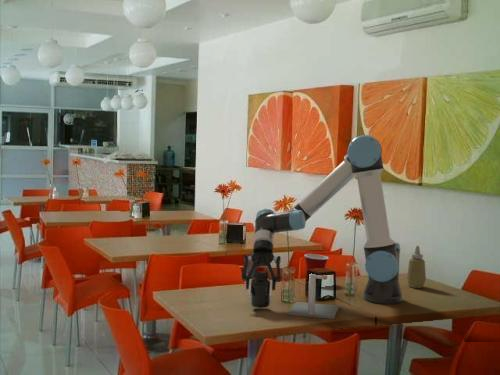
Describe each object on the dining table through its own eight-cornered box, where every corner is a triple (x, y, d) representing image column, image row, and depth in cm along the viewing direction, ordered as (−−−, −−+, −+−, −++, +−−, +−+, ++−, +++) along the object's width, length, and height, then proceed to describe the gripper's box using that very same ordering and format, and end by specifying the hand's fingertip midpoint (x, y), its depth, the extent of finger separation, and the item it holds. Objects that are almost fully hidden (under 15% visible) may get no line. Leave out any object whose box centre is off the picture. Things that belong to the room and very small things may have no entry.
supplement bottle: (266, 302, 221) (267, 270, 220) (272, 307, 214) (272, 274, 214) (248, 303, 219) (249, 271, 218) (253, 308, 212) (254, 274, 212)
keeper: (338, 307, 222) (340, 268, 221) (333, 319, 206) (335, 276, 205) (296, 303, 226) (297, 265, 225) (288, 314, 210) (289, 273, 209)
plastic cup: (329, 285, 260) (330, 257, 260) (304, 284, 260) (305, 257, 260) (326, 280, 271) (327, 253, 270) (302, 279, 271) (303, 252, 271)
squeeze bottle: (405, 288, 259) (407, 246, 258) (406, 284, 267) (408, 244, 266) (425, 289, 257) (427, 248, 256) (425, 286, 264) (427, 245, 263)
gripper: (289, 251, 230) (287, 303, 215) (238, 249, 232) (233, 301, 216) (289, 239, 225) (287, 292, 209) (237, 238, 226) (231, 290, 211)
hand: (260, 296), depth 213 cm, fingers closed on supplement bottle, 7 cm apart
